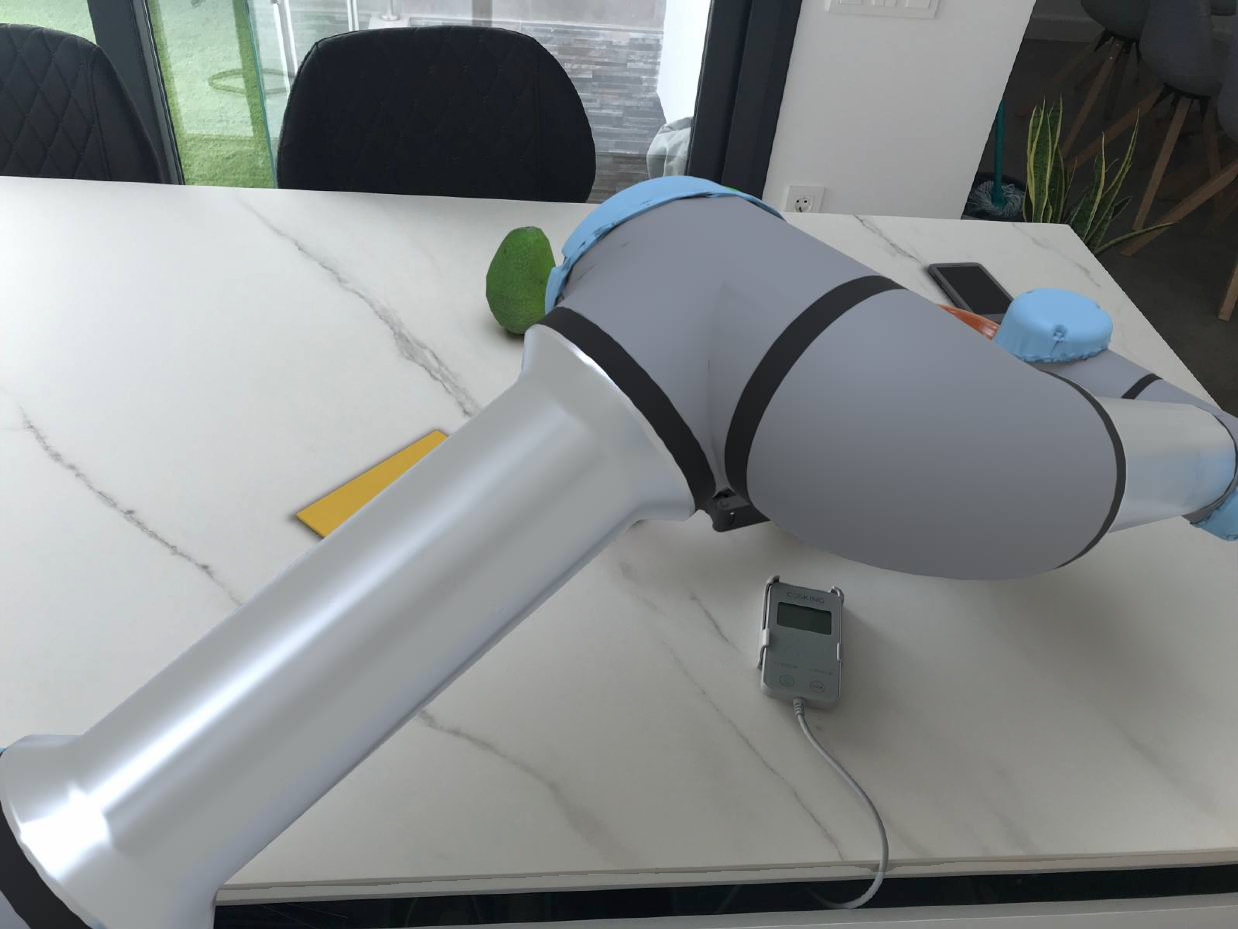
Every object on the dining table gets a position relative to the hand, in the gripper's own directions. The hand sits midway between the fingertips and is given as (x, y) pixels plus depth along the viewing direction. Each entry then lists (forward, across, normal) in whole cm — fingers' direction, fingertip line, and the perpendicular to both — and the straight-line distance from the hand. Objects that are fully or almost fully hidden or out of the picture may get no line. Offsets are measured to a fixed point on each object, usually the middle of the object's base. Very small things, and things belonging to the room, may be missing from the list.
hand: (628, 428), depth 82 cm
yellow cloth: (+16, -4, -8) cm, 19 cm away
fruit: (+13, +26, -8) cm, 30 cm away
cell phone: (-41, +43, -8) cm, 60 cm away
